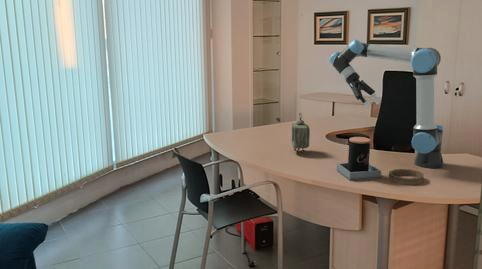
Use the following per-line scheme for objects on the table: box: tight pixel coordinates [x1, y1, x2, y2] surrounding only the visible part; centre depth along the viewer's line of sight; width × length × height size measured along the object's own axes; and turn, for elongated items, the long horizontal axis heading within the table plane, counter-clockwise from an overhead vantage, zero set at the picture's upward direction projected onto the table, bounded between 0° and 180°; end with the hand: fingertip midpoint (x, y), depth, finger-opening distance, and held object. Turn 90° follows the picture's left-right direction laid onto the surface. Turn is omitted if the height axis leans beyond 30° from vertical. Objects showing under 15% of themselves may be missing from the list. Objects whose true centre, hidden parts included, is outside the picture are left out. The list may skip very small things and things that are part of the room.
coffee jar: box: [347, 136, 371, 172], centre depth 249 cm, size 11×11×18 cm
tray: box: [336, 162, 382, 182], centre depth 251 cm, size 17×17×4 cm
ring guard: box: [388, 168, 424, 186], centre depth 243 cm, size 16×16×3 cm
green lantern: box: [291, 111, 311, 155], centre depth 292 cm, size 14×9×25 cm, turn 1°
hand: (374, 105), depth 262 cm, fingers open, 13 cm apart
